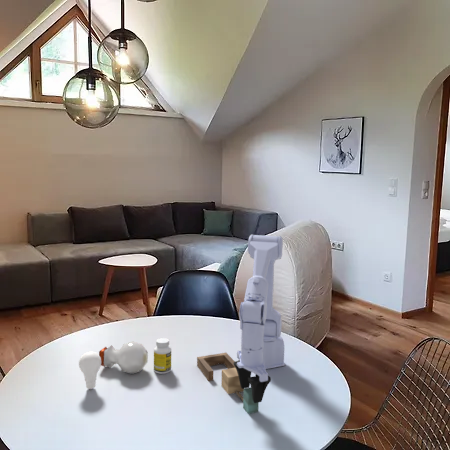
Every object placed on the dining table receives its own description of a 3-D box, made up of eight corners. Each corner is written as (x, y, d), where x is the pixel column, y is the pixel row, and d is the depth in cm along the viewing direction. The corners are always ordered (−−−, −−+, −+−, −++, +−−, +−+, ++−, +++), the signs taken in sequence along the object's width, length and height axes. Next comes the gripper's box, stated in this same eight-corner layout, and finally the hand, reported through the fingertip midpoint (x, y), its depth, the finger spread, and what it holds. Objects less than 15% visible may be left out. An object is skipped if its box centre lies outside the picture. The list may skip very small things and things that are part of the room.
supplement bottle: (168, 375, 139) (168, 344, 137) (151, 373, 140) (151, 343, 138) (173, 367, 144) (173, 337, 143) (157, 365, 145) (157, 336, 144)
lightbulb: (106, 385, 132) (105, 349, 130) (93, 396, 126) (92, 358, 125) (88, 382, 134) (87, 346, 132) (75, 392, 128) (73, 355, 126)
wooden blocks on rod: (237, 383, 135) (237, 365, 134) (261, 410, 120) (262, 391, 119) (221, 386, 133) (221, 368, 132) (244, 414, 118) (244, 394, 118)
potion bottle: (147, 380, 138) (104, 378, 143) (156, 351, 145) (114, 351, 150) (136, 364, 132) (91, 363, 137) (145, 335, 139) (102, 335, 144)
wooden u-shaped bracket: (226, 361, 149) (226, 352, 149) (239, 375, 139) (239, 366, 139) (197, 366, 145) (197, 357, 145) (208, 381, 136) (208, 371, 135)
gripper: (227, 337, 123) (226, 384, 125) (250, 360, 110) (249, 412, 112) (250, 333, 126) (249, 379, 128) (276, 355, 112) (274, 406, 115)
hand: (251, 394), depth 120 cm, fingers open, 7 cm apart
